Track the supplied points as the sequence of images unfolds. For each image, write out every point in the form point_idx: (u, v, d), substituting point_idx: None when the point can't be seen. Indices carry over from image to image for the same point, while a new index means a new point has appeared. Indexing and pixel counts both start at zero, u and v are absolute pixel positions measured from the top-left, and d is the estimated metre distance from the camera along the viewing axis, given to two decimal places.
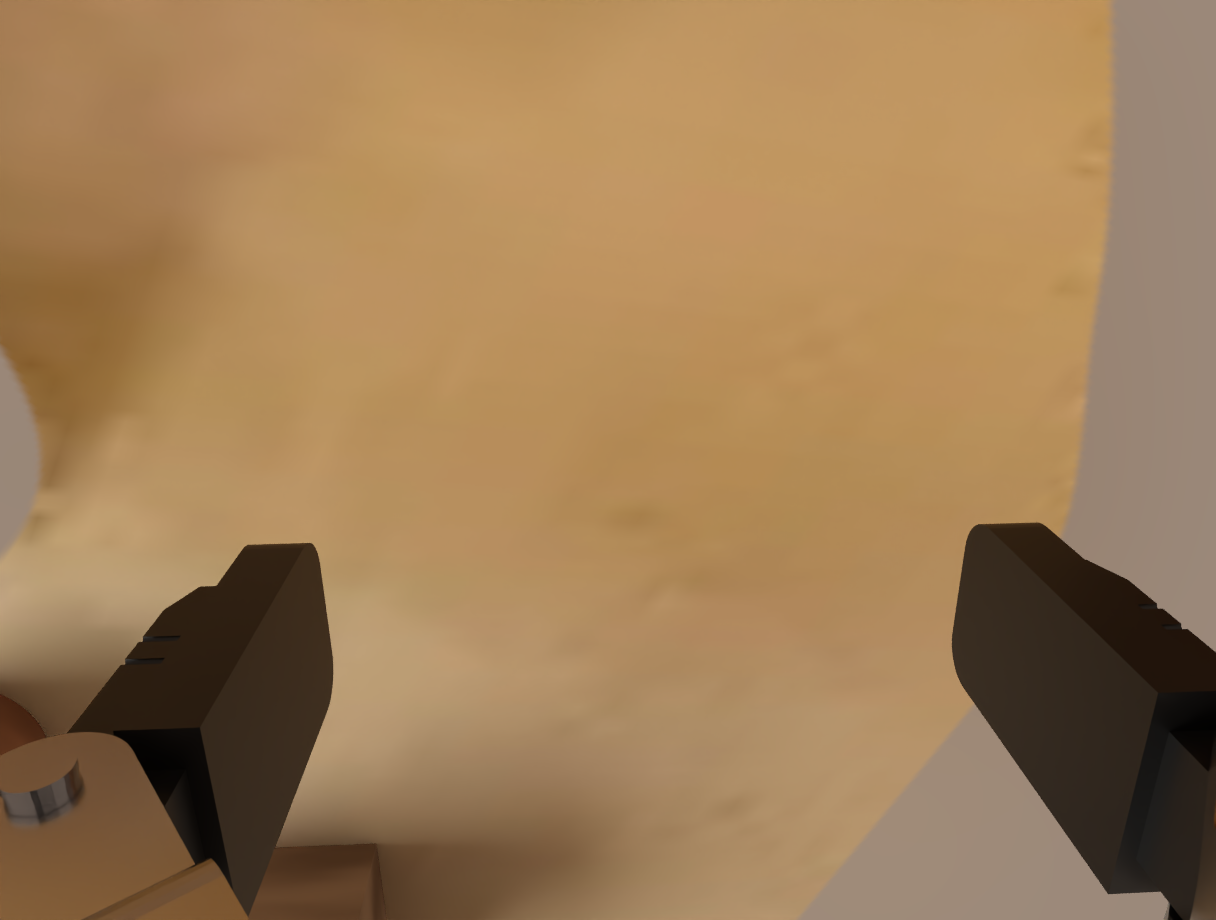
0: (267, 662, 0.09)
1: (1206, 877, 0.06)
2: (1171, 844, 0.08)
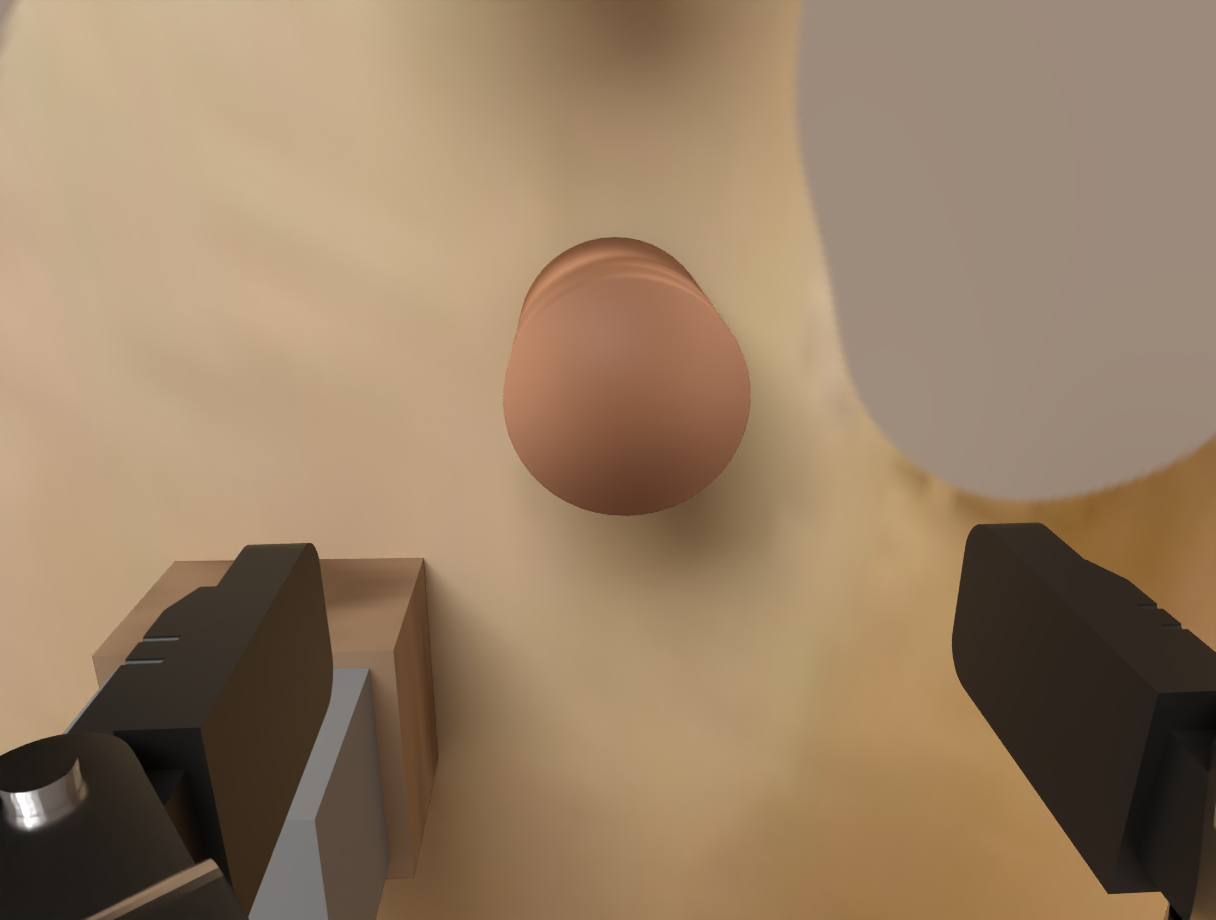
0: (266, 662, 0.09)
1: (1207, 877, 0.06)
2: (1171, 846, 0.08)
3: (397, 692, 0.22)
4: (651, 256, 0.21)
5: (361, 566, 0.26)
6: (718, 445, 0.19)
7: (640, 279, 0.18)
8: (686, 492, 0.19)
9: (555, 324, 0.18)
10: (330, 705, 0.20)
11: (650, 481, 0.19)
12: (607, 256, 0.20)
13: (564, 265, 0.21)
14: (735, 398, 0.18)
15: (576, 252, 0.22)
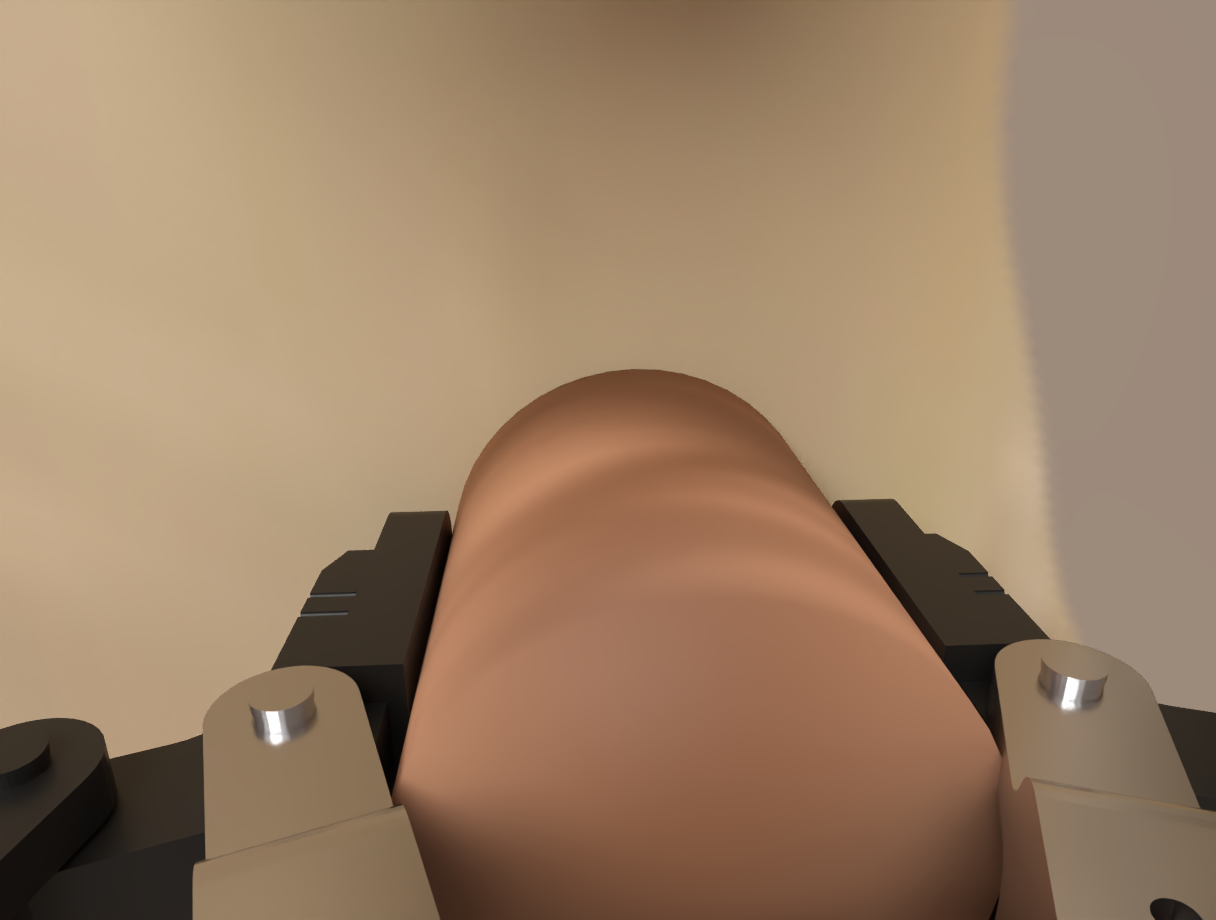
0: (430, 615, 0.10)
1: (1015, 840, 0.06)
2: None
3: None
4: (722, 437, 0.10)
5: None
6: None
7: (740, 597, 0.06)
8: None
9: (509, 714, 0.07)
10: None
11: None
12: (630, 452, 0.09)
13: (535, 458, 0.10)
14: (973, 852, 0.07)
15: (560, 415, 0.11)
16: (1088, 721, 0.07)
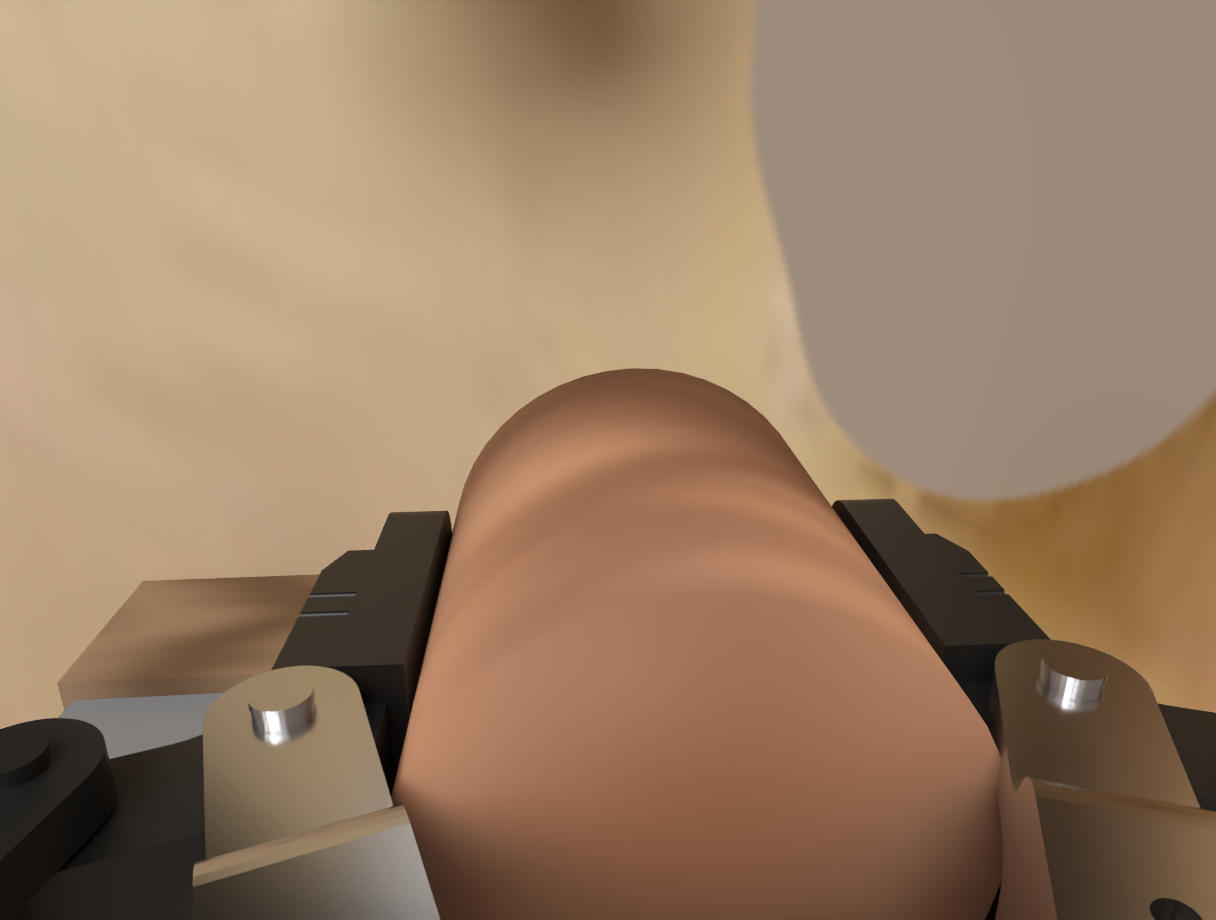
0: (430, 615, 0.10)
1: (1014, 840, 0.06)
2: None
3: None
4: (721, 436, 0.10)
5: None
6: None
7: (740, 595, 0.06)
8: None
9: (509, 711, 0.07)
10: None
11: None
12: (629, 450, 0.09)
13: (535, 456, 0.10)
14: (972, 848, 0.07)
15: (560, 414, 0.11)
16: (1088, 721, 0.07)
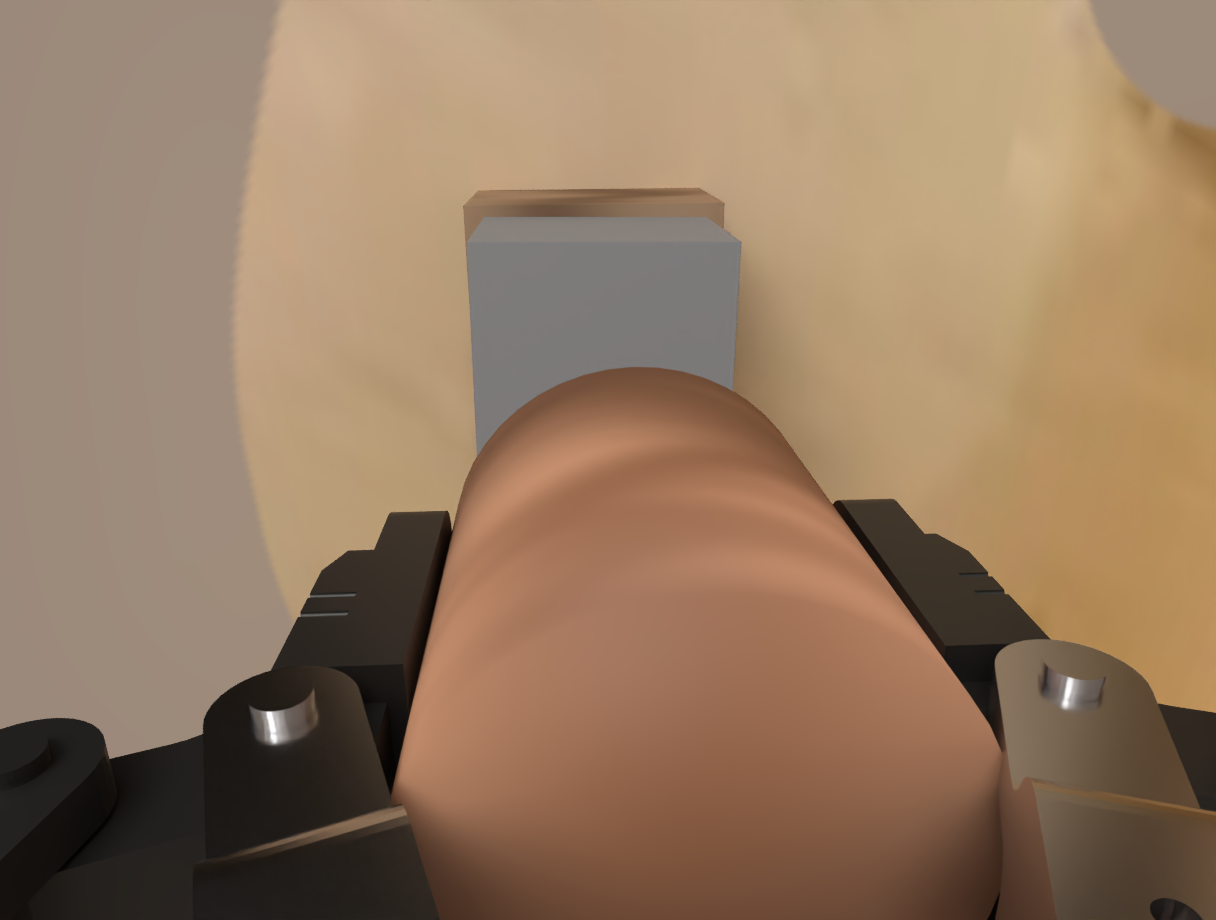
0: (430, 615, 0.10)
1: (1015, 839, 0.06)
2: None
3: None
4: (722, 434, 0.10)
5: (648, 190, 0.29)
6: None
7: (741, 593, 0.06)
8: None
9: (510, 710, 0.07)
10: (693, 223, 0.23)
11: None
12: (630, 449, 0.09)
13: (535, 455, 0.10)
14: (974, 848, 0.07)
15: (560, 412, 0.11)
16: (1088, 721, 0.07)
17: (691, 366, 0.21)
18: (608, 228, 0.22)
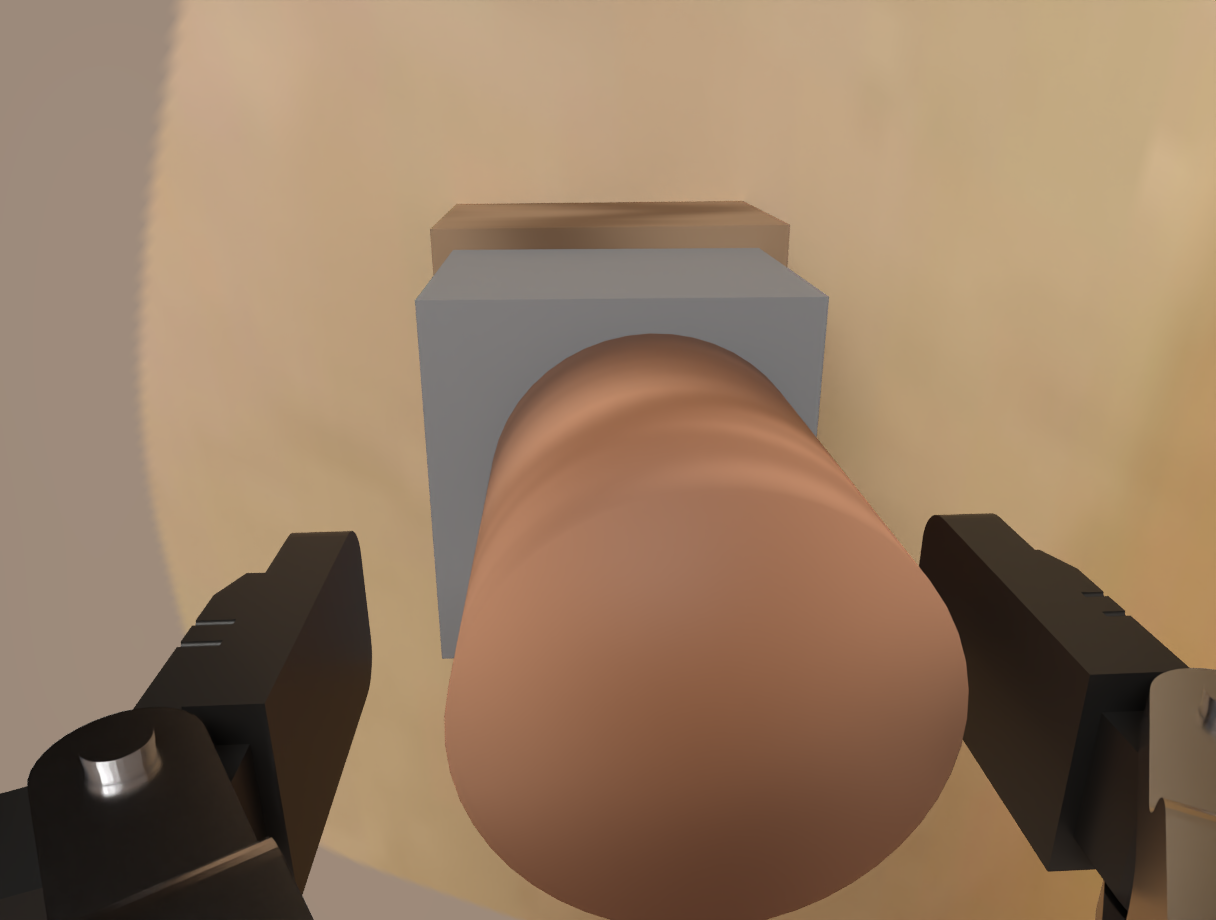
0: (317, 645, 0.09)
1: (1145, 861, 0.06)
2: (1104, 823, 0.08)
3: None
4: (728, 385, 0.11)
5: (679, 203, 0.22)
6: (895, 800, 0.09)
7: (740, 490, 0.08)
8: (826, 884, 0.09)
9: (552, 587, 0.08)
10: (744, 259, 0.17)
11: (754, 869, 0.09)
12: (648, 394, 0.11)
13: (566, 403, 0.11)
14: (936, 714, 0.09)
15: (586, 370, 0.12)
16: None
17: None
18: (626, 270, 0.15)
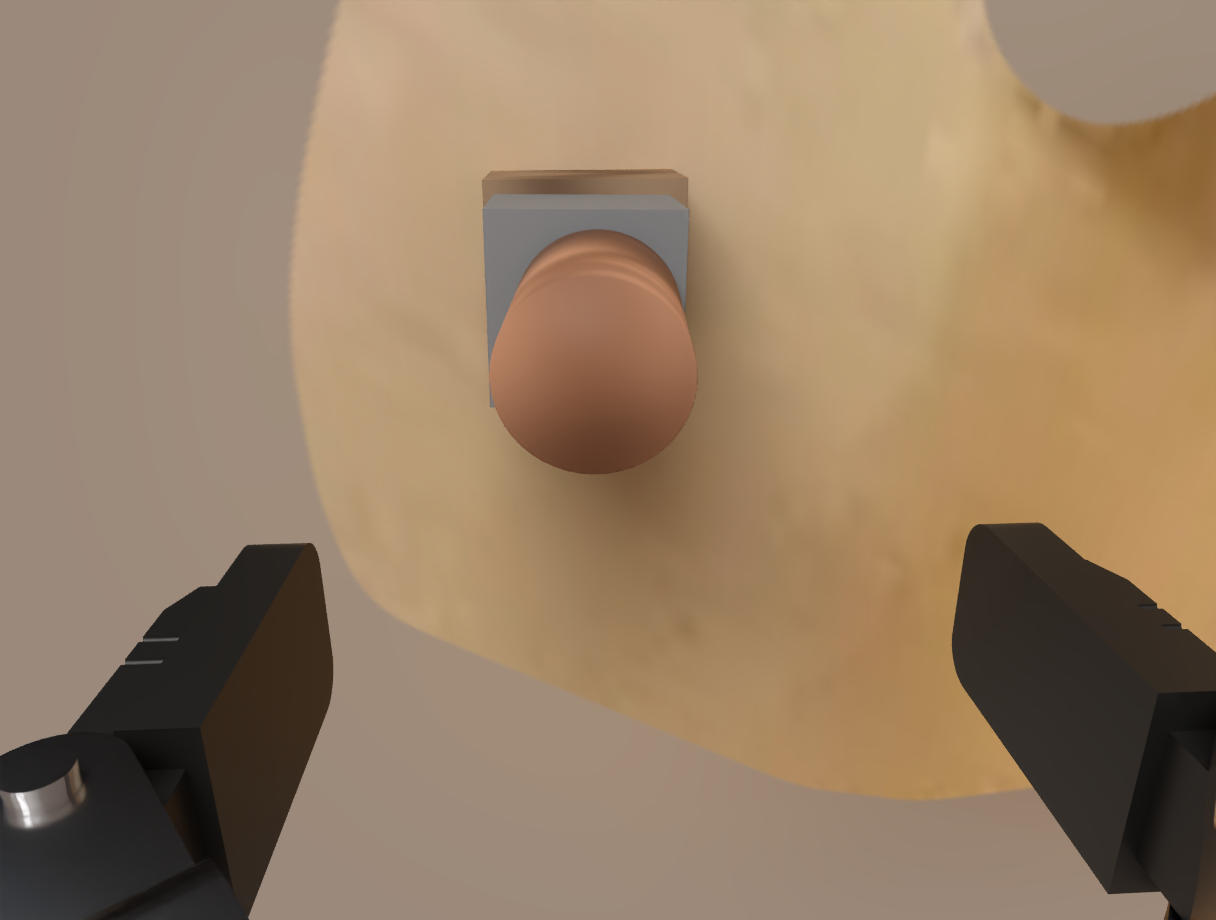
0: (267, 662, 0.09)
1: (1206, 877, 0.06)
2: (1171, 845, 0.08)
3: None
4: (625, 250, 0.24)
5: (630, 170, 0.35)
6: (670, 418, 0.22)
7: (604, 277, 0.21)
8: (643, 456, 0.23)
9: (533, 313, 0.21)
10: (657, 198, 0.30)
11: (612, 446, 0.23)
12: (586, 251, 0.24)
13: (550, 256, 0.24)
14: (684, 379, 0.22)
15: (563, 243, 0.25)
16: None
17: None
18: (590, 201, 0.29)
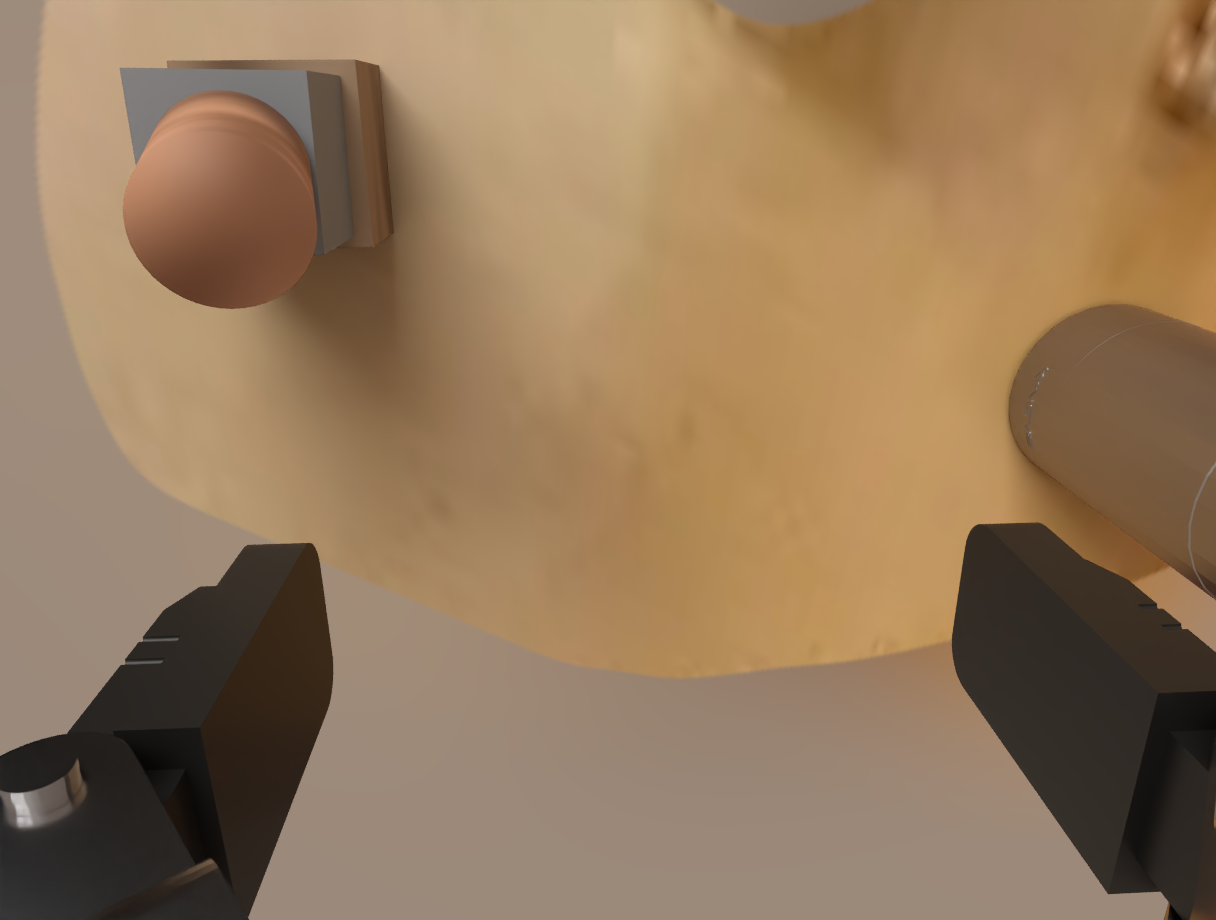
0: (267, 662, 0.09)
1: (1206, 877, 0.06)
2: (1171, 846, 0.08)
3: (358, 94, 0.35)
4: (295, 145, 0.28)
5: None
6: (264, 289, 0.27)
7: (283, 160, 0.25)
8: (223, 303, 0.27)
9: (210, 145, 0.24)
10: None
11: (204, 281, 0.26)
12: (267, 124, 0.27)
13: (232, 105, 0.27)
14: (293, 269, 0.27)
15: (245, 101, 0.28)
16: None
17: None
18: None
